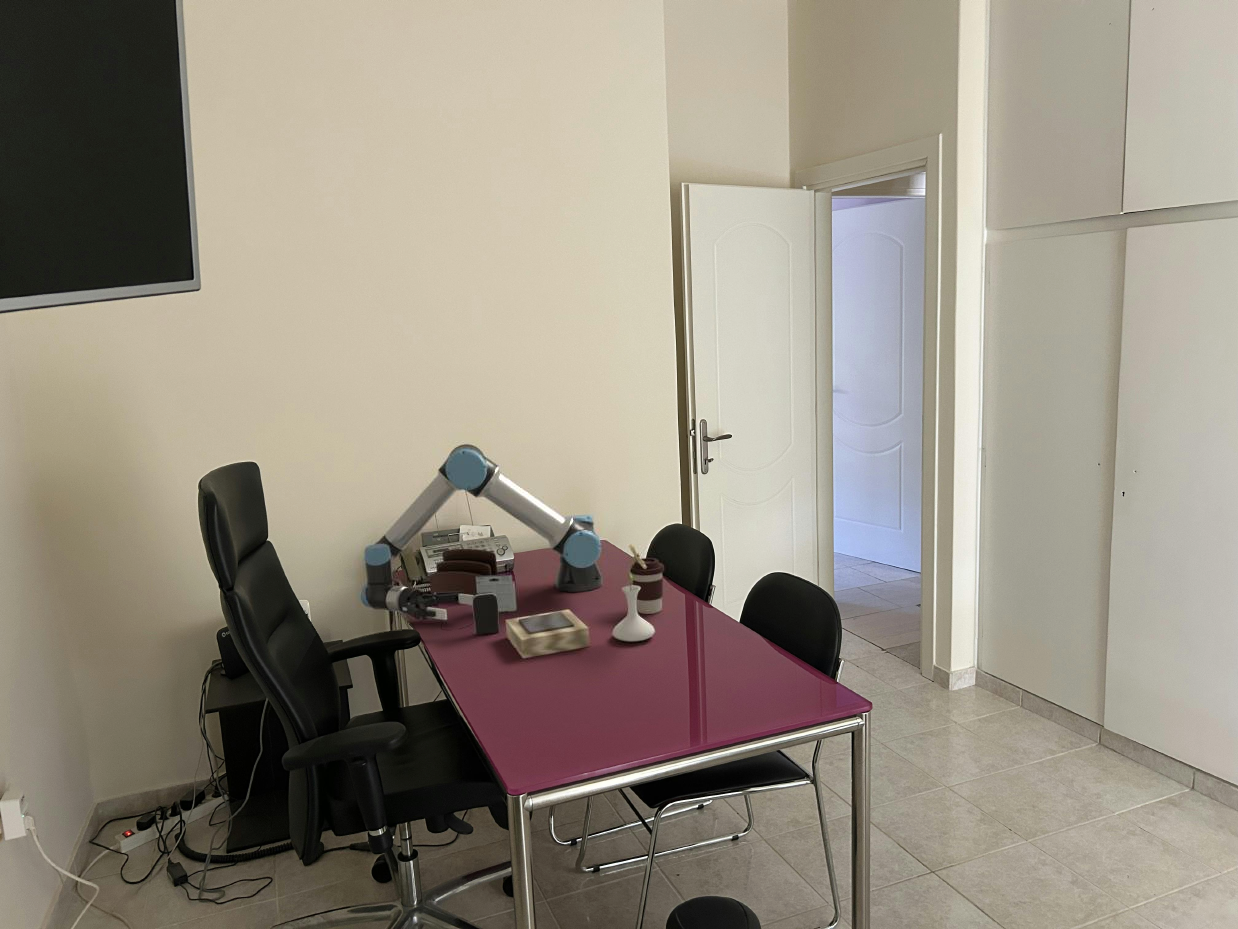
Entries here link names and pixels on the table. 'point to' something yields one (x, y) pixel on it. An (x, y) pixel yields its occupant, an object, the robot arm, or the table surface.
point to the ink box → (499, 590)
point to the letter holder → (462, 570)
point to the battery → (485, 613)
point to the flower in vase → (633, 612)
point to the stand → (547, 633)
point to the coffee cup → (648, 585)
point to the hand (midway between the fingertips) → (461, 607)
